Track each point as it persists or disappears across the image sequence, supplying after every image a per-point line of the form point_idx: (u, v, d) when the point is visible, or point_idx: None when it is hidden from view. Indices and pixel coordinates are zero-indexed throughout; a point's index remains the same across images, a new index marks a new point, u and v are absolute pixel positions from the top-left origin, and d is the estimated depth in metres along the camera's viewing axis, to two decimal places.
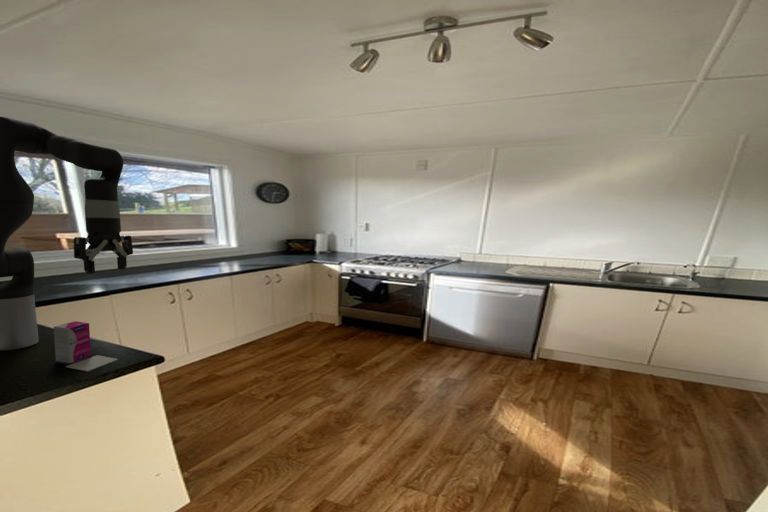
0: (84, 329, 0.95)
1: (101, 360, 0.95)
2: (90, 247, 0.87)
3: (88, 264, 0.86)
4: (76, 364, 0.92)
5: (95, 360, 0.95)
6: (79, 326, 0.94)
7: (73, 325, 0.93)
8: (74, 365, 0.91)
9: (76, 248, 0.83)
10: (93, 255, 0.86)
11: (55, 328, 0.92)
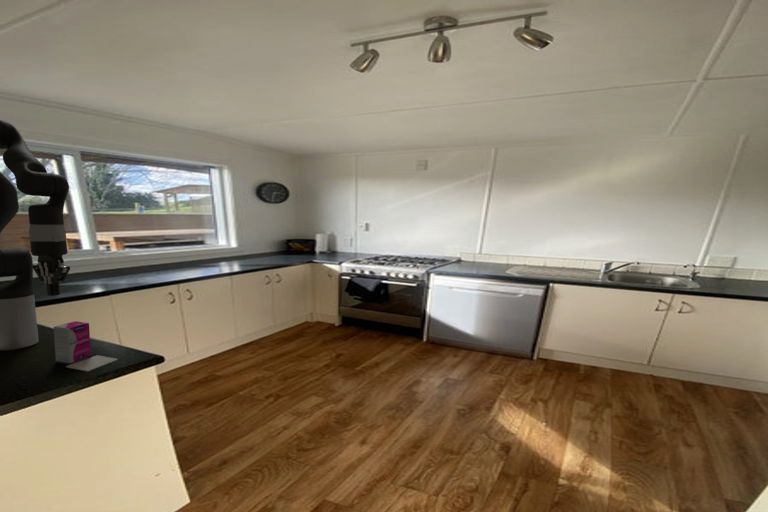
0: (84, 329, 0.95)
1: (101, 360, 0.95)
2: None
3: None
4: (76, 364, 0.92)
5: (95, 360, 0.95)
6: (79, 326, 0.94)
7: (73, 325, 0.93)
8: (74, 365, 0.91)
9: (60, 276, 0.93)
10: None
11: (55, 328, 0.92)
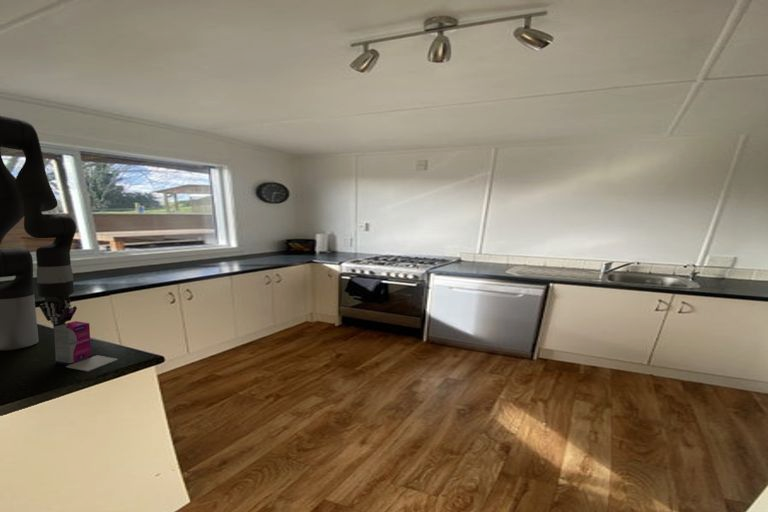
0: (84, 329, 0.95)
1: (101, 360, 0.95)
2: None
3: None
4: (76, 364, 0.92)
5: (95, 360, 0.95)
6: (79, 326, 0.94)
7: (73, 325, 0.93)
8: (74, 365, 0.91)
9: (67, 316, 0.94)
10: None
11: (55, 328, 0.92)
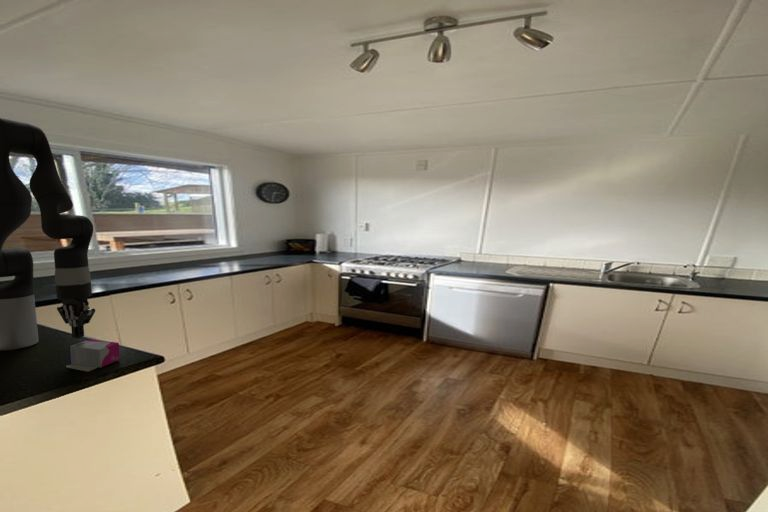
0: None
1: None
2: None
3: None
4: None
5: None
6: None
7: (109, 359, 0.92)
8: (74, 365, 0.91)
9: (85, 318, 0.92)
10: None
11: (98, 352, 0.90)
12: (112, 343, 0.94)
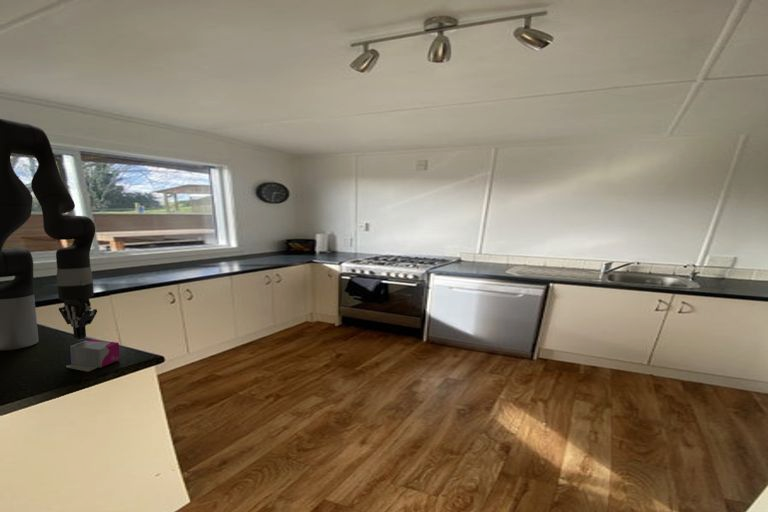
0: None
1: None
2: None
3: None
4: None
5: None
6: None
7: (109, 359, 0.92)
8: (74, 365, 0.91)
9: (87, 319, 0.91)
10: None
11: (98, 352, 0.90)
12: (112, 343, 0.94)
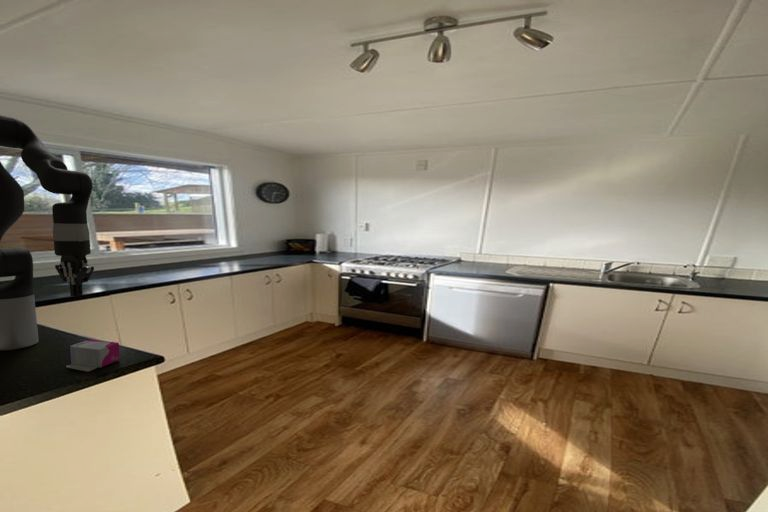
0: None
1: None
2: None
3: None
4: None
5: None
6: None
7: (109, 359, 0.92)
8: (74, 365, 0.91)
9: (84, 276, 0.90)
10: None
11: (98, 352, 0.90)
12: (112, 343, 0.94)
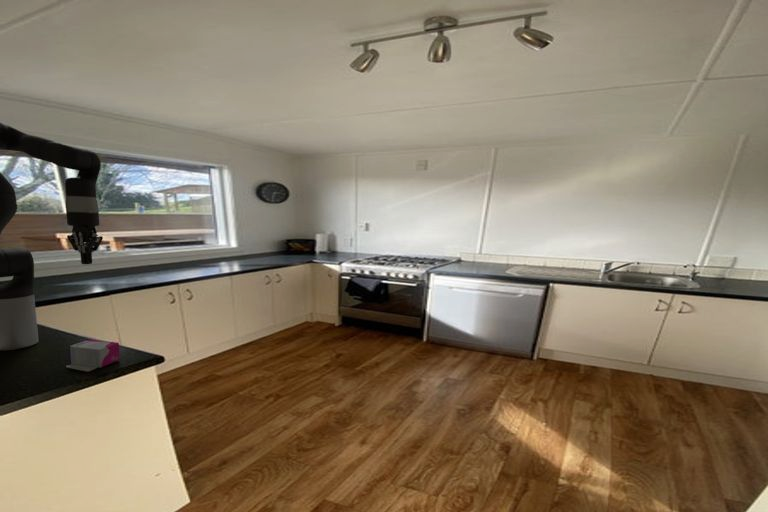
0: None
1: None
2: None
3: None
4: None
5: None
6: None
7: (109, 359, 0.92)
8: (74, 365, 0.91)
9: (94, 245, 0.99)
10: None
11: (98, 352, 0.90)
12: (112, 343, 0.94)
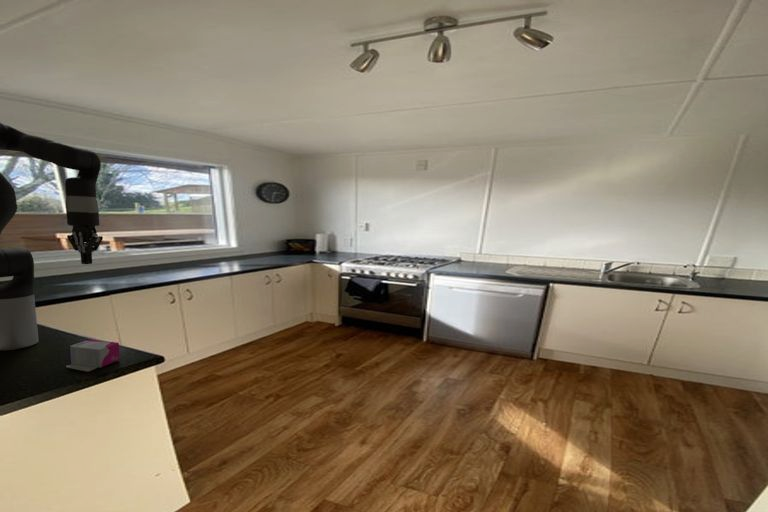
0: None
1: None
2: None
3: None
4: None
5: None
6: None
7: (109, 359, 0.92)
8: (74, 365, 0.91)
9: (94, 245, 0.99)
10: None
11: (98, 352, 0.90)
12: (112, 343, 0.94)
